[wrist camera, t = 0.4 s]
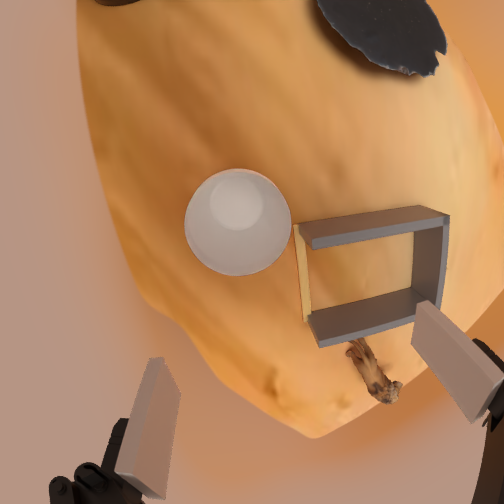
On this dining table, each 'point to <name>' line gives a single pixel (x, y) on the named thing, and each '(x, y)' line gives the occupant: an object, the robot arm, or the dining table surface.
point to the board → (390, 32)
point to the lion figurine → (374, 375)
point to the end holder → (388, 305)
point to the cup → (237, 222)
